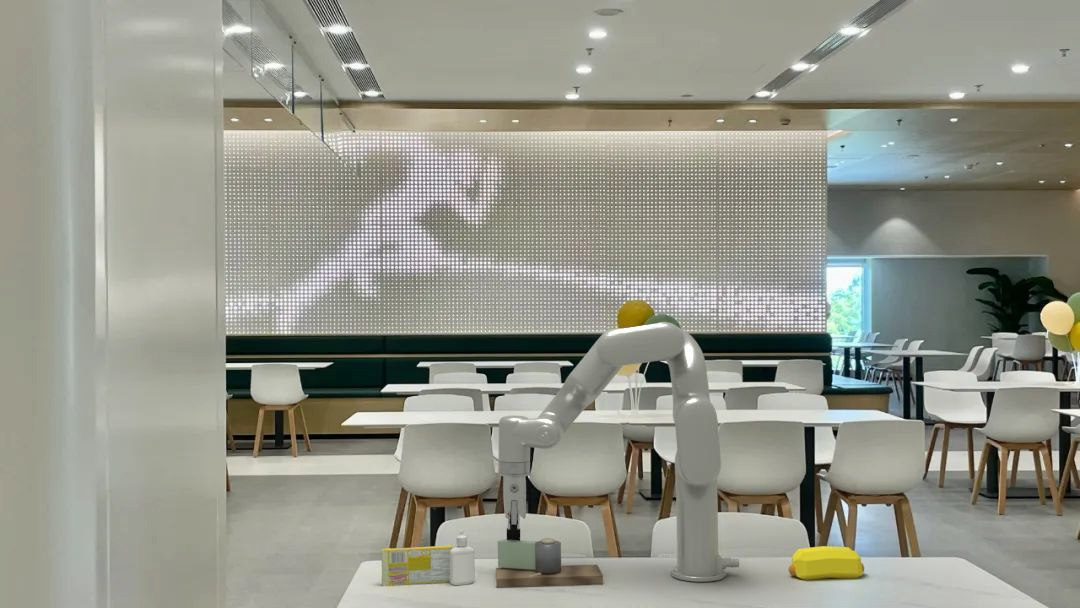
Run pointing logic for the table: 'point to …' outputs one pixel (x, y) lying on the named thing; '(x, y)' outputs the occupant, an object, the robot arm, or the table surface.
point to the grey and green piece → (530, 555)
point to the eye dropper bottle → (462, 562)
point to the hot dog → (826, 563)
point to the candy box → (416, 565)
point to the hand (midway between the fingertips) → (513, 545)
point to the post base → (549, 576)
